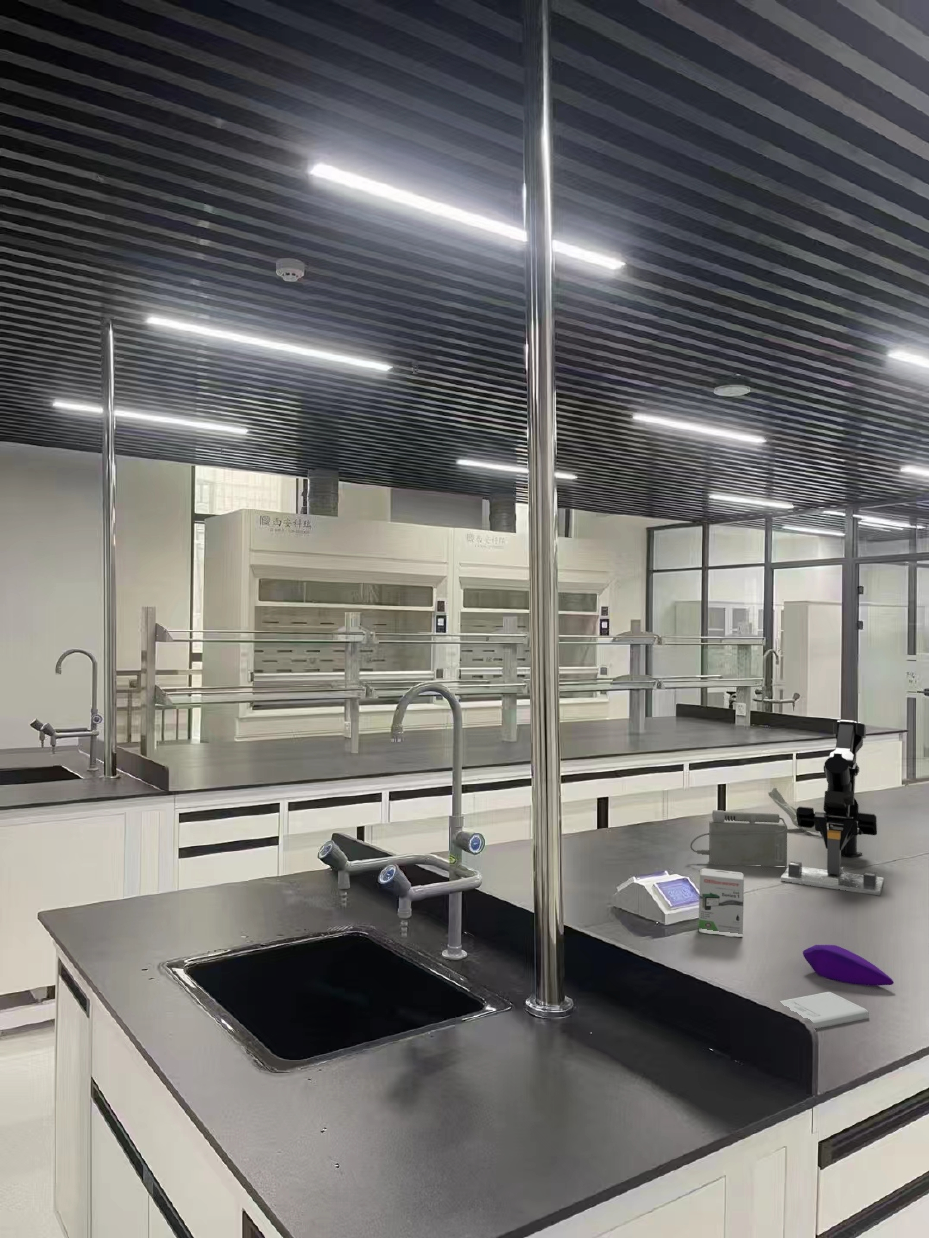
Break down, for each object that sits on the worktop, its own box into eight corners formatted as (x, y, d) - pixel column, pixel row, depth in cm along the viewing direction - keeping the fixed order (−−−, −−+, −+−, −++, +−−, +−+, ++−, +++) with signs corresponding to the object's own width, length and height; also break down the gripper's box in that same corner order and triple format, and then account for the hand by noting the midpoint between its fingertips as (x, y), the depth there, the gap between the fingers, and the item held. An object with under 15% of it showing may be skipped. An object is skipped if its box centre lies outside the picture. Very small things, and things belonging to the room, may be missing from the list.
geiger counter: (784, 811, 228) (688, 807, 231) (790, 815, 222) (692, 811, 224) (783, 863, 228) (688, 859, 230) (790, 869, 221) (692, 865, 224)
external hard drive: (868, 1020, 132) (807, 1033, 128) (827, 1000, 140) (768, 1011, 135) (868, 1010, 132) (807, 1022, 128) (827, 990, 140) (768, 1000, 135)
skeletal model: (841, 840, 257) (779, 777, 268) (819, 860, 261) (758, 797, 272) (853, 830, 270) (792, 771, 281) (831, 849, 274) (773, 789, 285)
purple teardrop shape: (892, 972, 141) (799, 941, 151) (888, 1001, 142) (796, 969, 151) (898, 964, 145) (808, 935, 155) (895, 992, 145) (805, 961, 155)
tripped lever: (828, 870, 216) (828, 829, 217) (840, 871, 215) (841, 831, 215) (827, 873, 214) (827, 832, 214) (839, 874, 212) (839, 833, 212)
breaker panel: (789, 868, 222) (789, 854, 222) (883, 881, 212) (883, 866, 212) (780, 881, 210) (780, 866, 210) (879, 895, 199) (880, 879, 199)
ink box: (697, 933, 170) (698, 873, 171) (698, 925, 175) (699, 867, 175) (743, 938, 168) (744, 878, 168) (743, 930, 172) (743, 871, 173)
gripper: (797, 775, 223) (790, 825, 213) (876, 781, 214) (873, 834, 204) (801, 800, 230) (795, 850, 220) (878, 808, 220) (875, 860, 210)
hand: (833, 848), depth 213 cm, fingers closed on tripped lever, 3 cm apart
